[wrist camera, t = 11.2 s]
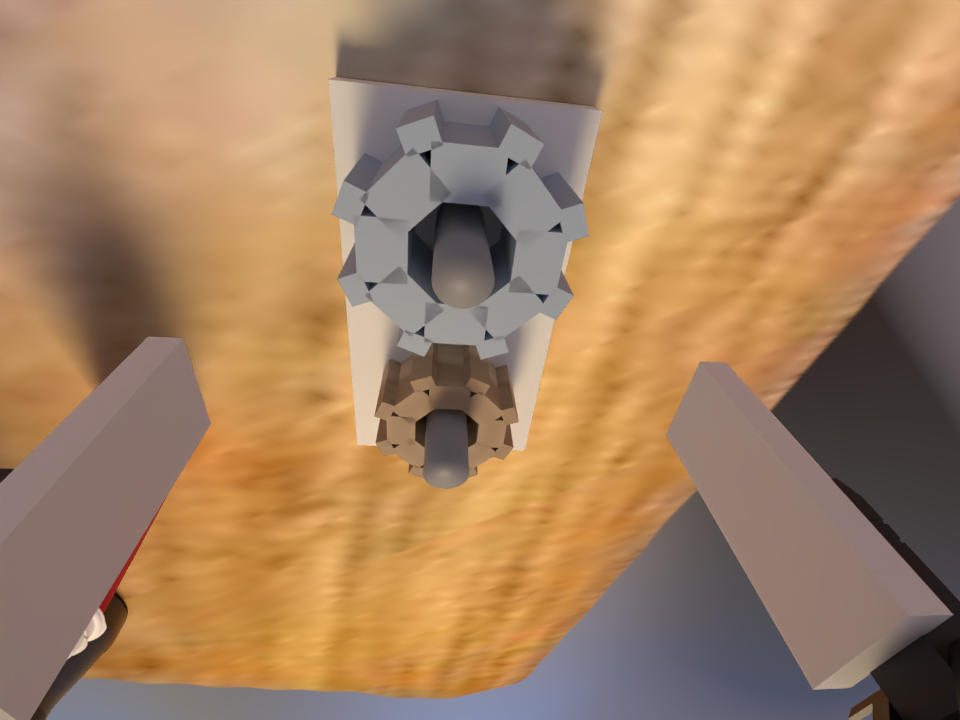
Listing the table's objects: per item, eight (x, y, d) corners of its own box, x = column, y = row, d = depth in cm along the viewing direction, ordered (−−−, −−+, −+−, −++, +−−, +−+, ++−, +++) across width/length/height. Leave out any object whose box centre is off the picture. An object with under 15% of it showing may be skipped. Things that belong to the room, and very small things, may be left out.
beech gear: (384, 431, 31) (377, 477, 28) (381, 331, 26) (372, 373, 23) (500, 435, 32) (506, 480, 28) (518, 339, 27) (527, 380, 24)
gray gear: (349, 89, 19) (321, 103, 15) (581, 116, 20) (613, 135, 16) (361, 301, 25) (343, 352, 21) (540, 313, 26) (556, 363, 22)
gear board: (360, 430, 33) (336, 534, 26) (335, 77, 20) (275, 96, 13) (521, 435, 34) (540, 536, 27) (594, 106, 21) (662, 138, 14)
